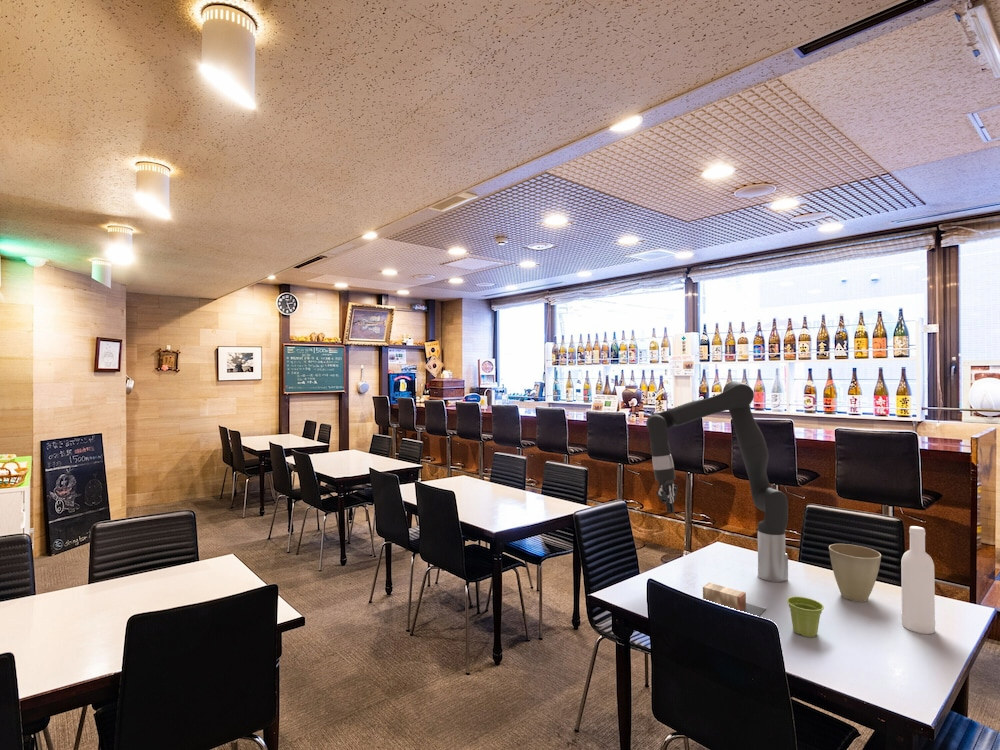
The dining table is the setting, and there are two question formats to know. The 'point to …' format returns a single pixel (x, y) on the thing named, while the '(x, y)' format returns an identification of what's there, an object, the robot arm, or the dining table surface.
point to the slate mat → (754, 609)
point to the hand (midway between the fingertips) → (671, 512)
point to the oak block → (725, 596)
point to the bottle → (918, 585)
